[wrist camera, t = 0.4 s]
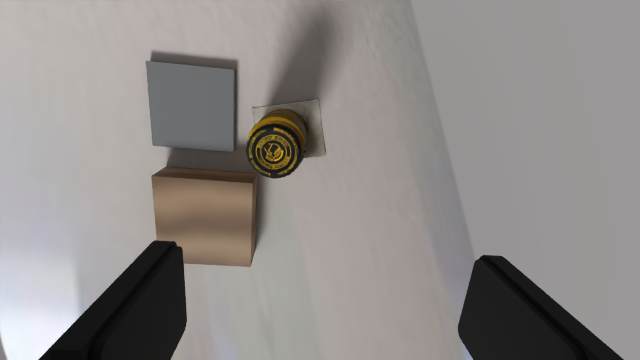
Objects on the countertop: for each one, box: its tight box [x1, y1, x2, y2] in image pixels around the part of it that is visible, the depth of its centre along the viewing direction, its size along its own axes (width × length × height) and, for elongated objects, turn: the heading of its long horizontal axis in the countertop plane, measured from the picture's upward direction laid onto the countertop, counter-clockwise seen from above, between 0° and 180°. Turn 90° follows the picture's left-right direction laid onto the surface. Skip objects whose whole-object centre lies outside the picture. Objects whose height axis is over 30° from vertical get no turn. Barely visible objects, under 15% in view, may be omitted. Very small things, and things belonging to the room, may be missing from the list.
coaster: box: [146, 61, 236, 152], centre depth 37 cm, size 10×10×1 cm
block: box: [152, 167, 257, 267], centre depth 41 cm, size 12×12×4 cm
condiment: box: [246, 99, 325, 178], centre depth 34 cm, size 7×8×12 cm
